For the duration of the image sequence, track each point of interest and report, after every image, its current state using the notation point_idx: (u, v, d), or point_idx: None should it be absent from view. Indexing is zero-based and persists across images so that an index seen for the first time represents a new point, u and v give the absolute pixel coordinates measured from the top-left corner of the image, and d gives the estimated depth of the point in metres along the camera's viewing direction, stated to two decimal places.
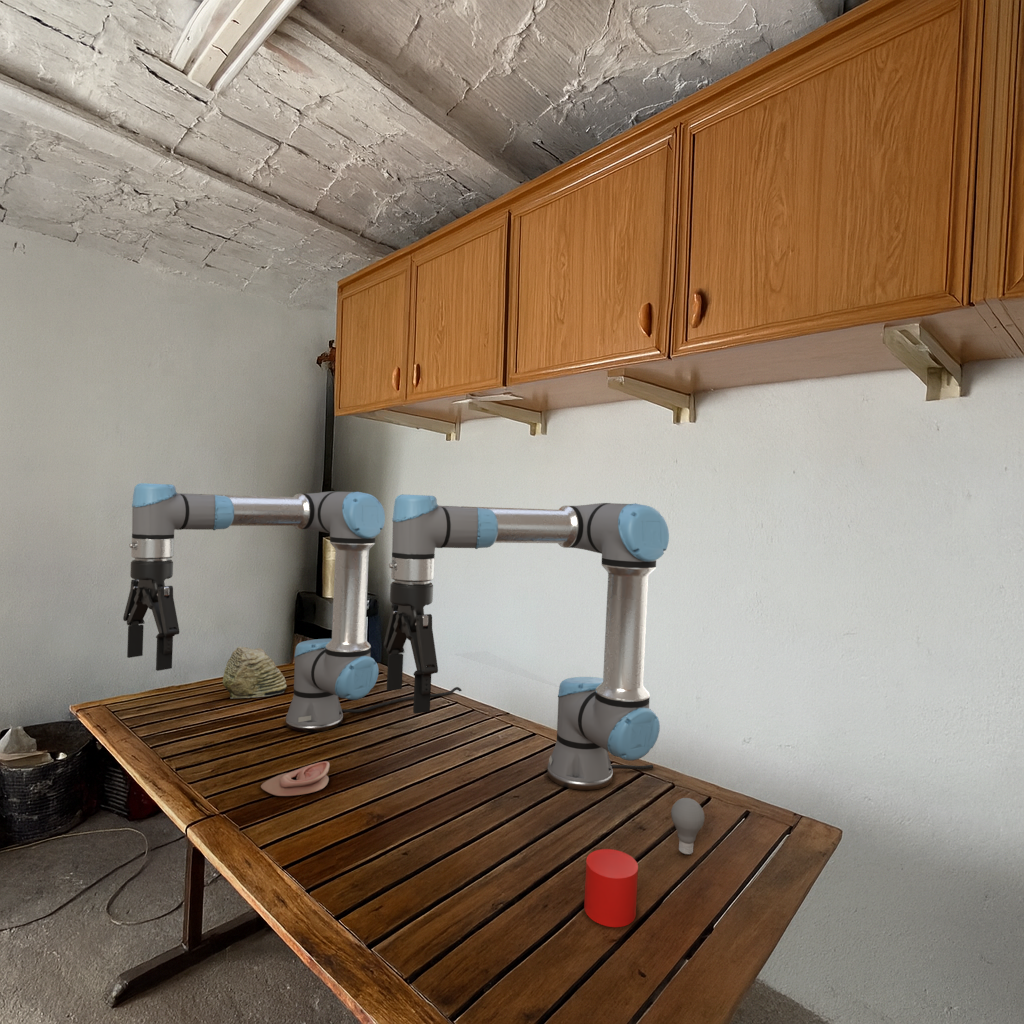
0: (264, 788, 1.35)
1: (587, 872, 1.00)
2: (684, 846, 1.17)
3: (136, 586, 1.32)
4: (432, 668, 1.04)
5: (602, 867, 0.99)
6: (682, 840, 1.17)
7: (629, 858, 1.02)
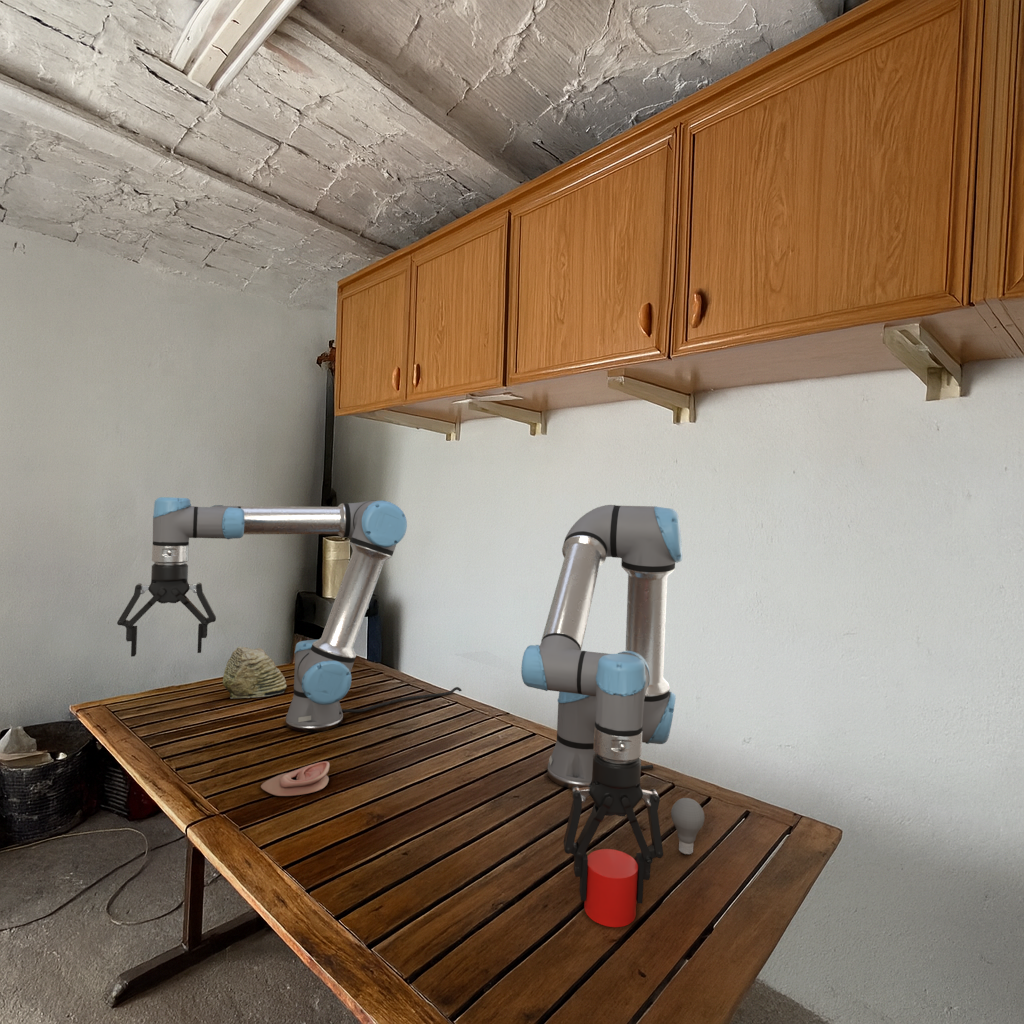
0: (264, 788, 1.35)
1: (587, 872, 1.00)
2: (684, 846, 1.17)
3: (142, 590, 1.45)
4: None
5: (602, 867, 0.99)
6: (682, 840, 1.17)
7: (629, 858, 1.02)
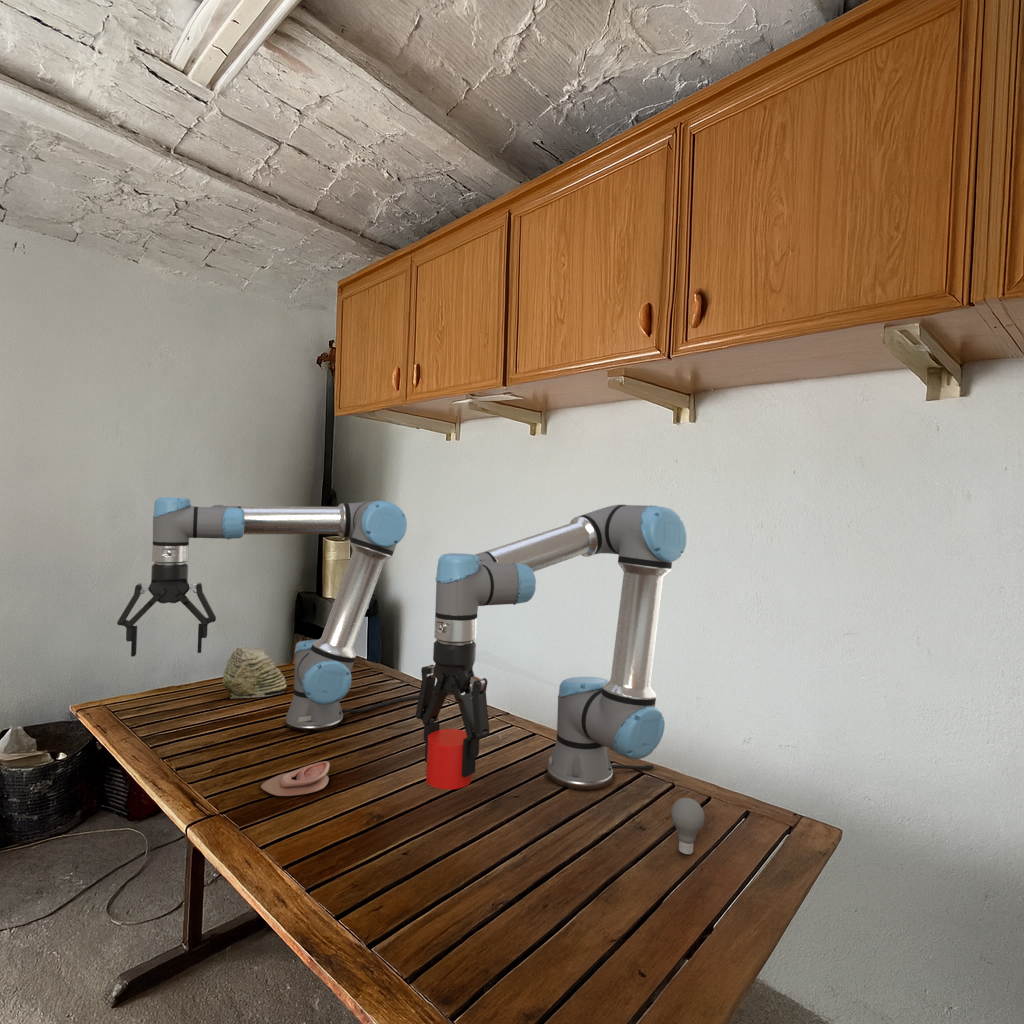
0: (264, 788, 1.35)
1: None
2: (684, 846, 1.17)
3: (142, 590, 1.45)
4: (486, 733, 1.09)
5: (438, 736, 1.13)
6: (682, 840, 1.17)
7: None
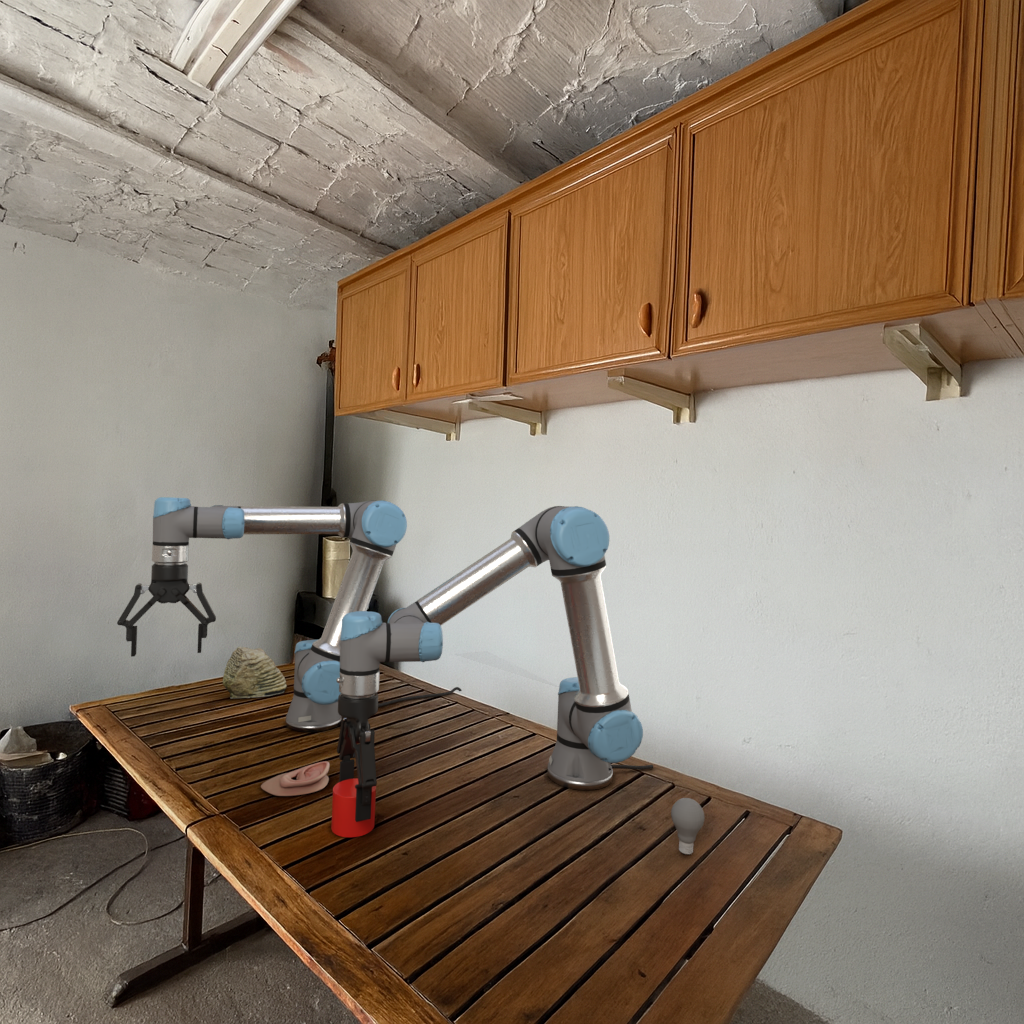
0: (264, 788, 1.35)
1: None
2: (684, 846, 1.17)
3: (142, 590, 1.45)
4: (371, 783, 1.15)
5: (345, 785, 1.23)
6: (682, 840, 1.17)
7: None
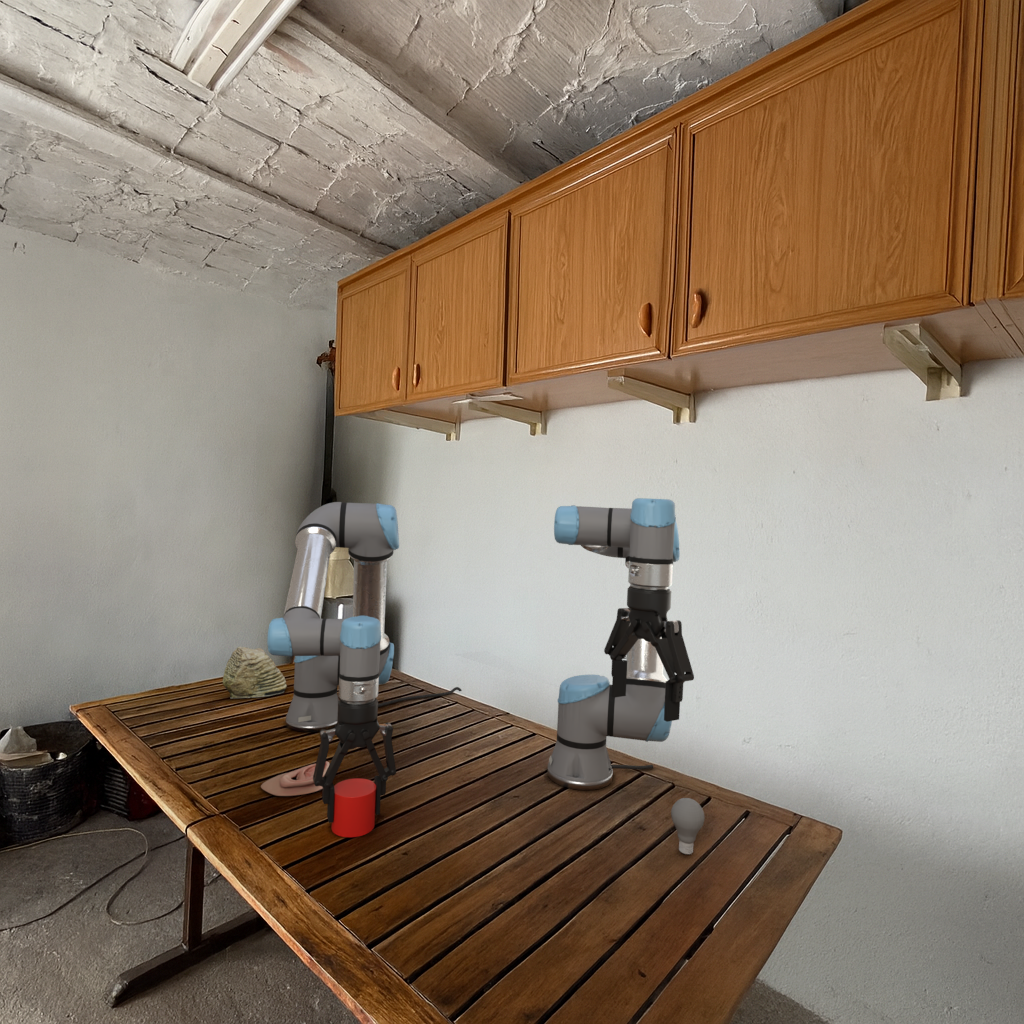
0: (264, 788, 1.35)
1: None
2: (684, 846, 1.17)
3: (329, 738, 1.19)
4: (689, 675, 1.02)
5: (345, 785, 1.23)
6: (682, 840, 1.17)
7: (367, 792, 1.20)
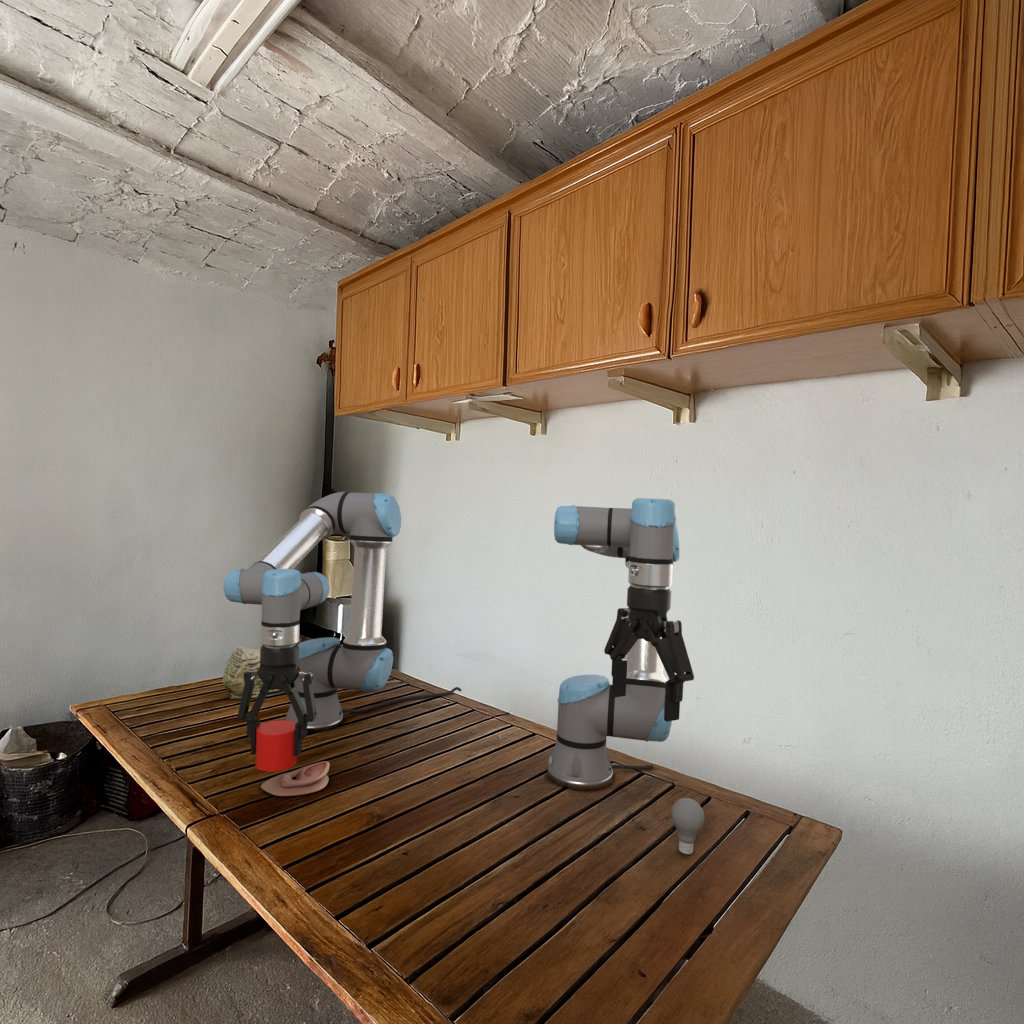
0: (264, 788, 1.35)
1: None
2: (684, 846, 1.17)
3: (252, 677, 1.30)
4: (689, 675, 1.02)
5: (272, 724, 1.33)
6: (682, 840, 1.17)
7: (281, 732, 1.29)
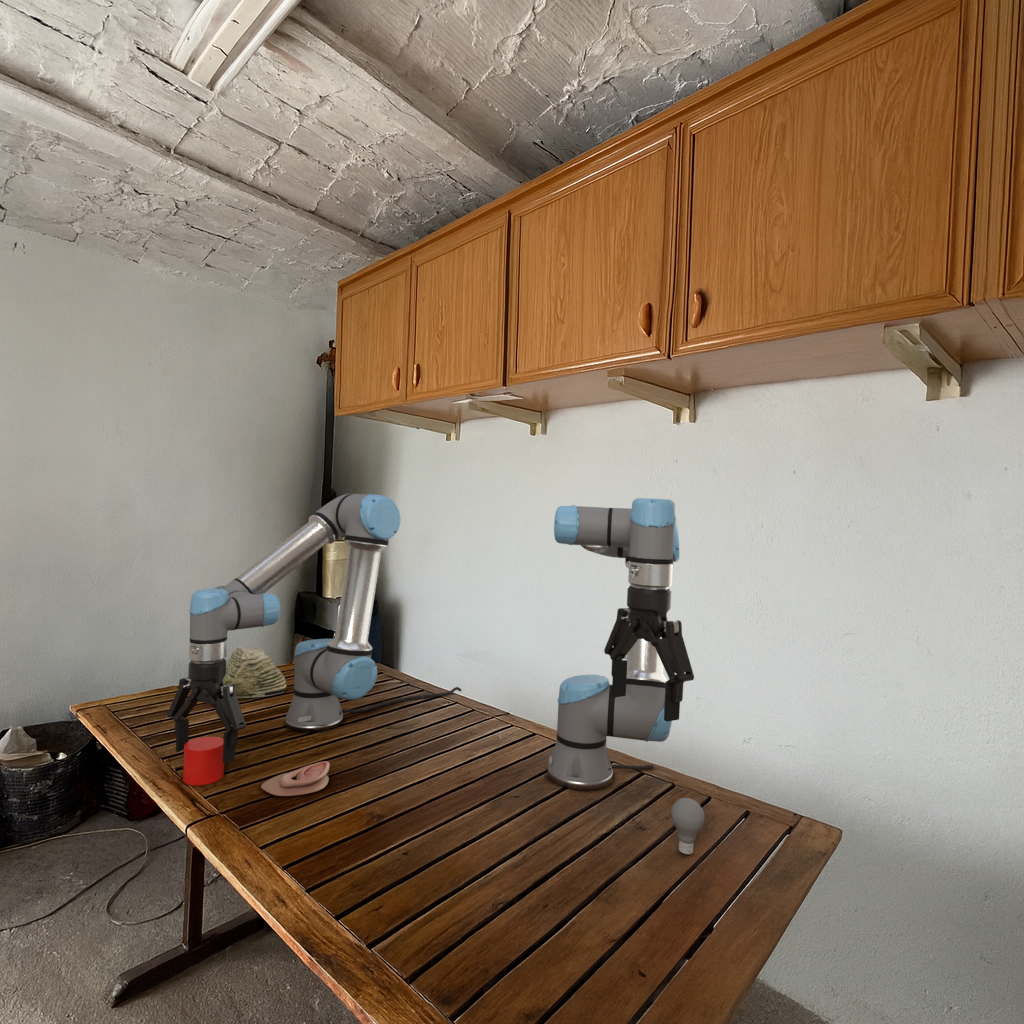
0: (264, 788, 1.35)
1: None
2: (684, 846, 1.17)
3: (185, 685, 1.41)
4: (689, 675, 1.02)
5: (205, 739, 1.42)
6: (682, 840, 1.17)
7: (200, 749, 1.37)
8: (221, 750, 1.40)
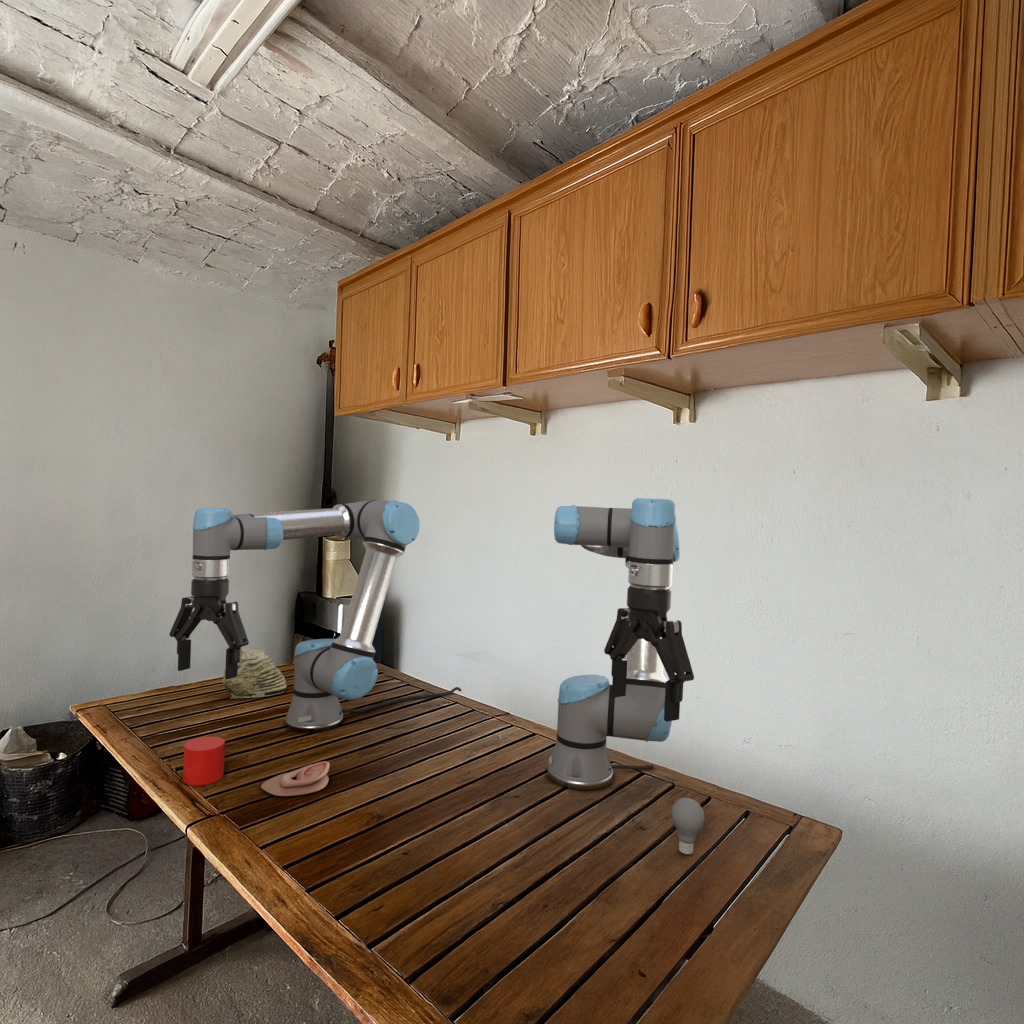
0: (264, 788, 1.35)
1: None
2: (684, 846, 1.17)
3: (188, 604, 1.41)
4: (689, 675, 1.02)
5: (205, 739, 1.42)
6: (682, 840, 1.17)
7: (200, 749, 1.37)
8: (221, 750, 1.40)
